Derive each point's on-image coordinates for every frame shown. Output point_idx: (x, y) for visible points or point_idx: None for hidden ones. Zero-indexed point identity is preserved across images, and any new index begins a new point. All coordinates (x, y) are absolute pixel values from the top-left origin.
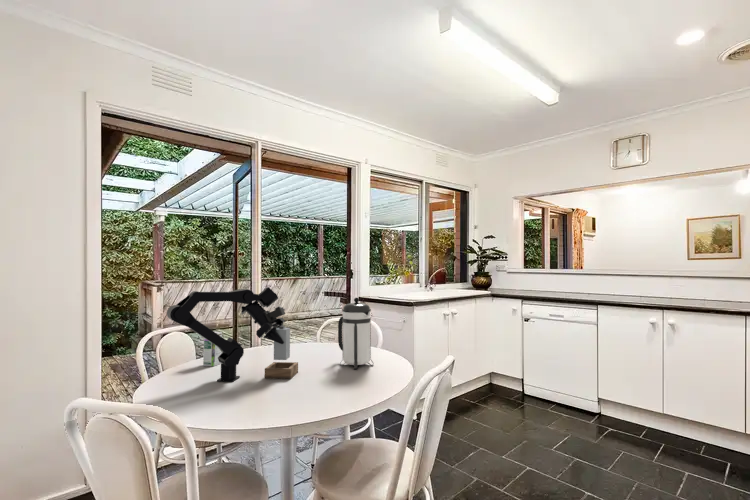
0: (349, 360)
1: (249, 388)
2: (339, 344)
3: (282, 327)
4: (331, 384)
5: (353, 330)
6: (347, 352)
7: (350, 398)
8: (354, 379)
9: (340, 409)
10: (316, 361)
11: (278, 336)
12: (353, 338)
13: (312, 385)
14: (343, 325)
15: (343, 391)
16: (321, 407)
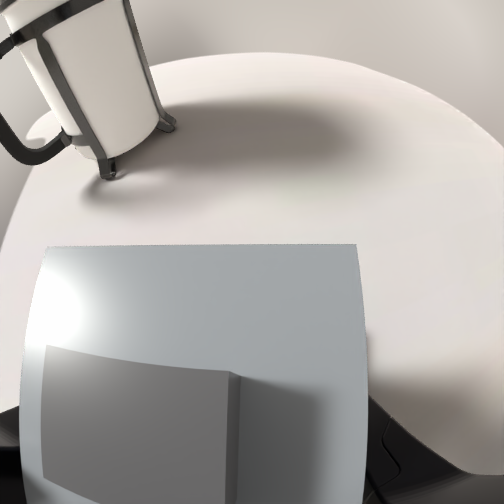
0: (148, 124)
1: (450, 443)
2: (24, 158)
3: (238, 404)
4: (354, 162)
5: (124, 17)
6: (132, 107)
7: (435, 124)
8: (287, 116)
9: (487, 143)
10: (35, 277)
11: (386, 419)
12: (132, 45)
13: (382, 215)
14: (63, 36)
15: (402, 134)
16: (499, 173)
